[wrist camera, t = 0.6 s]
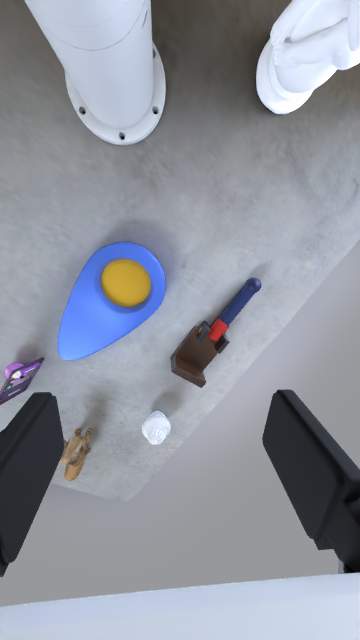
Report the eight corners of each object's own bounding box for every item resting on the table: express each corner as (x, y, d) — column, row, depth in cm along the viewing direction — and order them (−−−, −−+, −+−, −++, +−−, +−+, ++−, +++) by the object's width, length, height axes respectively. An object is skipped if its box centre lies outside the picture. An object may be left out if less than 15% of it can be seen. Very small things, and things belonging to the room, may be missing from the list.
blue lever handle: (249, 273, 40) (255, 276, 38) (260, 281, 41) (267, 285, 39) (204, 330, 44) (207, 336, 42) (215, 337, 45) (218, 343, 42)
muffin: (141, 425, 52) (139, 452, 46) (144, 404, 50) (142, 430, 43) (168, 426, 53) (169, 454, 46) (172, 406, 51) (174, 432, 44)
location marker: (97, 369, 46) (180, 278, 40) (92, 379, 43) (182, 283, 37) (37, 330, 42) (120, 223, 36) (27, 339, 39) (115, 223, 32)
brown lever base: (200, 318, 43) (205, 329, 39) (227, 336, 45) (235, 348, 41) (170, 357, 46) (171, 372, 41) (197, 372, 48) (201, 388, 43)
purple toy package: (-4, 411, 39) (16, 375, 37) (-27, 393, 39) (-8, 355, 37) (28, 392, 46) (47, 360, 43) (9, 376, 46) (27, 344, 44)
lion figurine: (68, 416, 49) (50, 454, 41) (93, 417, 50) (80, 454, 42) (71, 462, 55) (55, 504, 46) (94, 463, 55) (82, 504, 47)
